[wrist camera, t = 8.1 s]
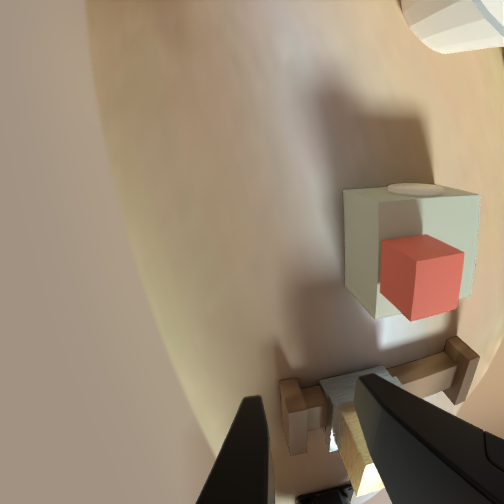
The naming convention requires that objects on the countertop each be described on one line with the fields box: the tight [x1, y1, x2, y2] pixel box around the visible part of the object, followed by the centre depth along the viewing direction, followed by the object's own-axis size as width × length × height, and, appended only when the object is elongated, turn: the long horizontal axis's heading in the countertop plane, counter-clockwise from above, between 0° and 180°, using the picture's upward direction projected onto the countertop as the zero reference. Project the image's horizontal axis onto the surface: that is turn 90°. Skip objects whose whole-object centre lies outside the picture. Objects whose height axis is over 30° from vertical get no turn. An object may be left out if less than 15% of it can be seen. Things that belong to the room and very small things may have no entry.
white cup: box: [401, 0, 504, 54], centre depth 12 cm, size 7×7×7 cm
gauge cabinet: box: [343, 183, 481, 320], centre depth 17 cm, size 6×7×4 cm
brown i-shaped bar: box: [280, 336, 480, 456], centre depth 21 cm, size 15×5×3 cm, turn 96°
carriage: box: [320, 365, 404, 497], centre depth 18 cm, size 5×5×8 cm
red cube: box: [380, 234, 465, 322], centre depth 13 cm, size 3×3×3 cm
